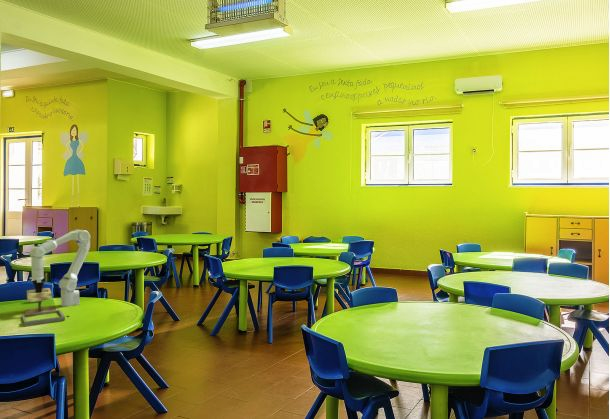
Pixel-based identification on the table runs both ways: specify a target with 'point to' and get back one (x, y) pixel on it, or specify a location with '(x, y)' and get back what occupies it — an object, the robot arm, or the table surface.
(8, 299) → the table surface
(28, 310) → the stake board
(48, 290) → the cream square frame
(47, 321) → the tray
